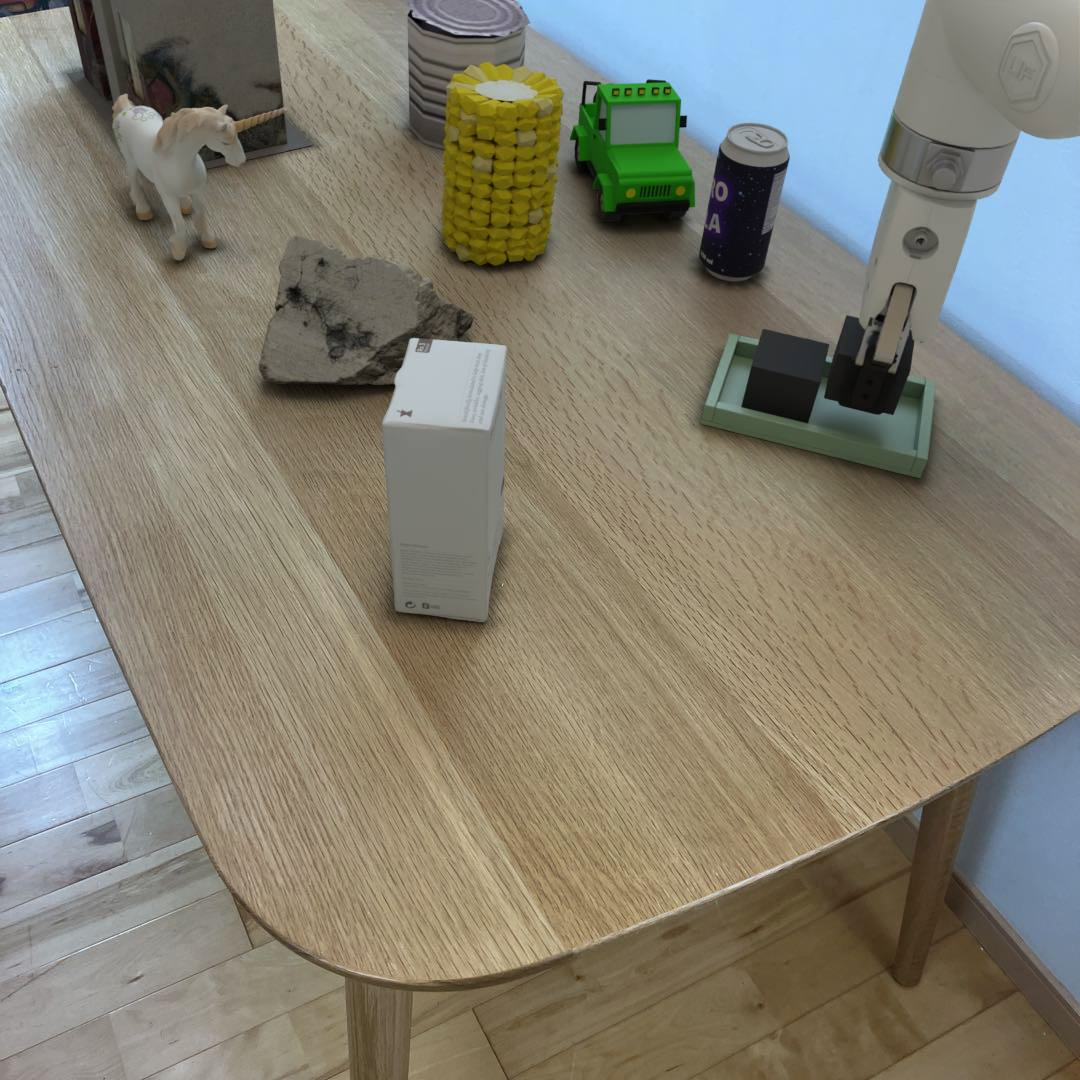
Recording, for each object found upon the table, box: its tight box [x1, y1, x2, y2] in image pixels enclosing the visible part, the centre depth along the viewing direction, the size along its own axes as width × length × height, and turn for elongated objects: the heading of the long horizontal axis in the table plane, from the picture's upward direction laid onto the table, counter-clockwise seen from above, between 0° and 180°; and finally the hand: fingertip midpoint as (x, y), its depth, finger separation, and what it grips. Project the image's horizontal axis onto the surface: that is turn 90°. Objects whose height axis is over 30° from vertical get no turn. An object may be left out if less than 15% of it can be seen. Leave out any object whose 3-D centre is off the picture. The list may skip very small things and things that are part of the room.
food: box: [440, 62, 565, 267], centre depth 93 cm, size 15×12×10 cm
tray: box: [700, 333, 937, 479], centre depth 83 cm, size 16×10×2 cm, turn 72°
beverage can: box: [698, 122, 791, 282], centre depth 93 cm, size 6×6×12 cm
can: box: [406, 0, 531, 151], centre depth 108 cm, size 11×11×12 cm
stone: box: [258, 235, 475, 386], centre depth 82 cm, size 12×17×10 cm
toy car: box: [569, 78, 696, 222], centre depth 102 cm, size 8×17×10 cm, turn 12°
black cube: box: [824, 314, 916, 415], centre depth 80 cm, size 5×5×4 cm
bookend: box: [66, 0, 314, 170], centre depth 106 cm, size 16×25×16 cm, turn 33°
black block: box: [741, 328, 830, 424], centre depth 83 cm, size 5×5×4 cm
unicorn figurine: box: [112, 94, 288, 261], centre depth 90 cm, size 7×20×13 cm, turn 54°
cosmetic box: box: [381, 338, 508, 623], centre depth 65 cm, size 8×6×15 cm
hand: (864, 382), depth 81 cm, fingers closed on black cube, 5 cm apart
